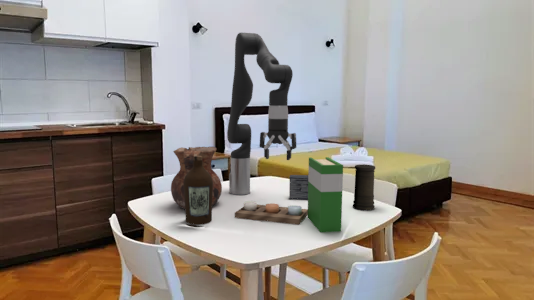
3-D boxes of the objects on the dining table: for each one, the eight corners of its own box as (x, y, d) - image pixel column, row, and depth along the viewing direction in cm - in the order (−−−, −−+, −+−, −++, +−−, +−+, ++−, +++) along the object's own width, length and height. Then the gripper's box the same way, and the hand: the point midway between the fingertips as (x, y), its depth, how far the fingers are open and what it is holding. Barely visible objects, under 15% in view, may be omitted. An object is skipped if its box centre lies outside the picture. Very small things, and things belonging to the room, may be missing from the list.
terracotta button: (263, 212, 159) (263, 206, 159) (268, 209, 164) (268, 202, 163) (276, 213, 157) (276, 207, 157) (280, 210, 162) (280, 204, 162)
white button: (241, 210, 162) (241, 203, 162) (246, 207, 167) (246, 200, 166) (253, 211, 160) (253, 205, 160) (258, 208, 165) (258, 202, 165)
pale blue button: (286, 214, 156) (286, 208, 156) (290, 211, 161) (290, 205, 161) (299, 216, 155) (299, 209, 154) (302, 212, 159) (303, 206, 159)
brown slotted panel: (234, 220, 158) (234, 212, 158) (248, 210, 172) (248, 203, 171) (299, 227, 150) (299, 219, 150) (308, 216, 164) (308, 209, 163)
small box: (312, 196, 196) (312, 174, 194) (312, 200, 189) (312, 177, 188) (289, 196, 197) (290, 174, 195) (289, 199, 190) (289, 176, 189)
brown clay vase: (165, 202, 183) (164, 146, 180) (211, 197, 192) (210, 143, 189) (179, 216, 163) (178, 152, 160) (229, 209, 173) (229, 149, 170)
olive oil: (183, 219, 158) (182, 154, 155) (211, 218, 161) (211, 153, 157) (184, 228, 148) (183, 158, 145) (214, 226, 151) (214, 157, 147)
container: (376, 206, 179) (378, 165, 177) (372, 211, 171) (373, 168, 169) (355, 204, 183) (356, 163, 181) (350, 209, 175) (351, 166, 173)
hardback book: (307, 219, 160) (308, 157, 157) (326, 219, 161) (328, 157, 158) (319, 235, 142) (321, 165, 139) (340, 234, 143) (343, 165, 140)
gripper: (257, 117, 160) (257, 159, 162) (293, 118, 155) (293, 161, 157) (263, 116, 167) (263, 157, 169) (298, 117, 162) (297, 158, 164)
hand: (277, 159), depth 163 cm, fingers open, 8 cm apart
